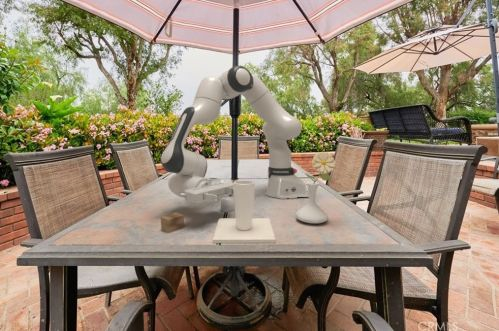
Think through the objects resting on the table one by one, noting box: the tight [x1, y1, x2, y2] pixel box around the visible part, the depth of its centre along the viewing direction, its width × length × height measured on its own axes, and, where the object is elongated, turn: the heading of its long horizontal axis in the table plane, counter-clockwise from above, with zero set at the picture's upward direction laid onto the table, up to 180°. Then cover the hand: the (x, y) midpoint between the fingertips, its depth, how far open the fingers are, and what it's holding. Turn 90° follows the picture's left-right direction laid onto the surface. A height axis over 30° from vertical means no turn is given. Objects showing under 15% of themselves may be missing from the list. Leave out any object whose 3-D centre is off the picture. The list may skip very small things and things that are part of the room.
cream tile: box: [212, 217, 276, 244], centre depth 81 cm, size 18×18×1 cm
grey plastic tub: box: [220, 195, 235, 213], centre depth 103 cm, size 6×6×5 cm
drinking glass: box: [232, 179, 256, 230], centre depth 80 cm, size 7×7×15 cm
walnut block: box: [160, 212, 185, 234], centre depth 82 cm, size 6×4×4 cm, turn 141°
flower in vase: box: [295, 151, 337, 224], centre depth 89 cm, size 13×11×25 cm
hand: (227, 195), depth 84 cm, fingers open, 8 cm apart
